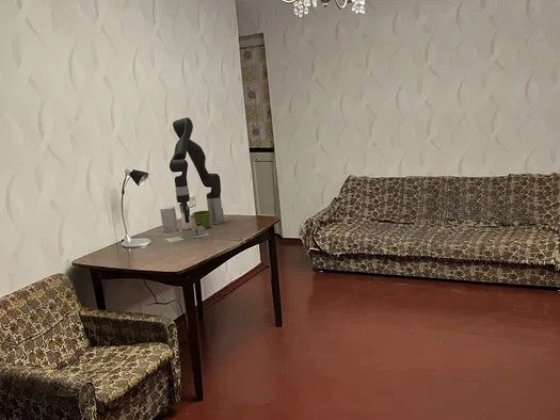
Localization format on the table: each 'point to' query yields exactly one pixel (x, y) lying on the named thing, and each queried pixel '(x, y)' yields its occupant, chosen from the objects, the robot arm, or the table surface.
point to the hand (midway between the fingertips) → (186, 221)
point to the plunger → (199, 225)
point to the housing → (189, 234)
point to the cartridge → (185, 225)
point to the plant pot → (202, 217)
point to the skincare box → (169, 219)
